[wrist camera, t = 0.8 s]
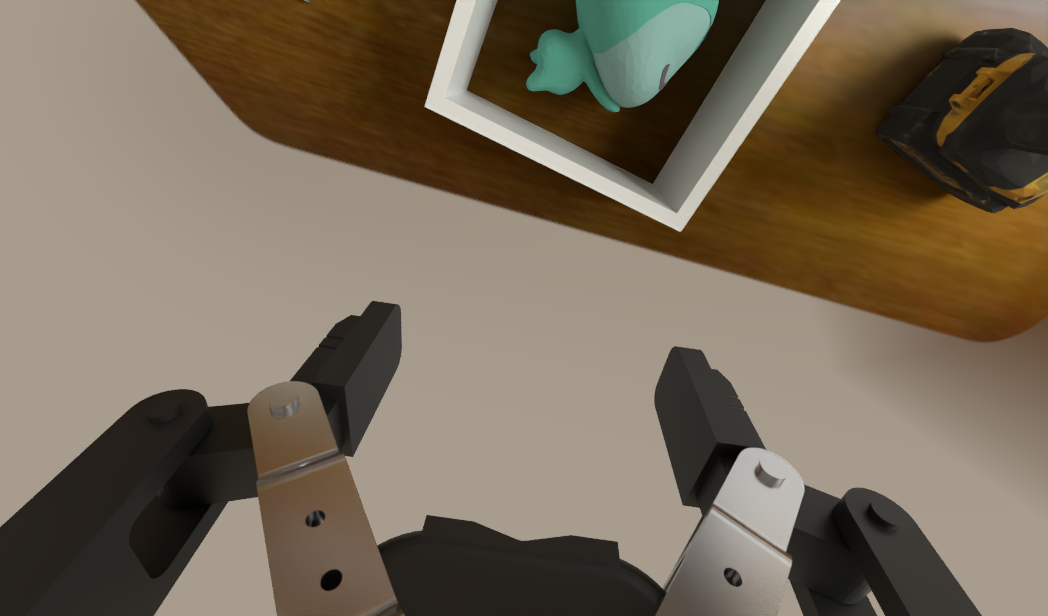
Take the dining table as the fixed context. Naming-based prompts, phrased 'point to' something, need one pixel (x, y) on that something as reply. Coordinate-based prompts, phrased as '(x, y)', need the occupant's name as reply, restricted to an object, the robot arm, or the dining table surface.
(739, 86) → the toy caddy
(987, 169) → the power drill
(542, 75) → the toy
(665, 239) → the dining table surface
